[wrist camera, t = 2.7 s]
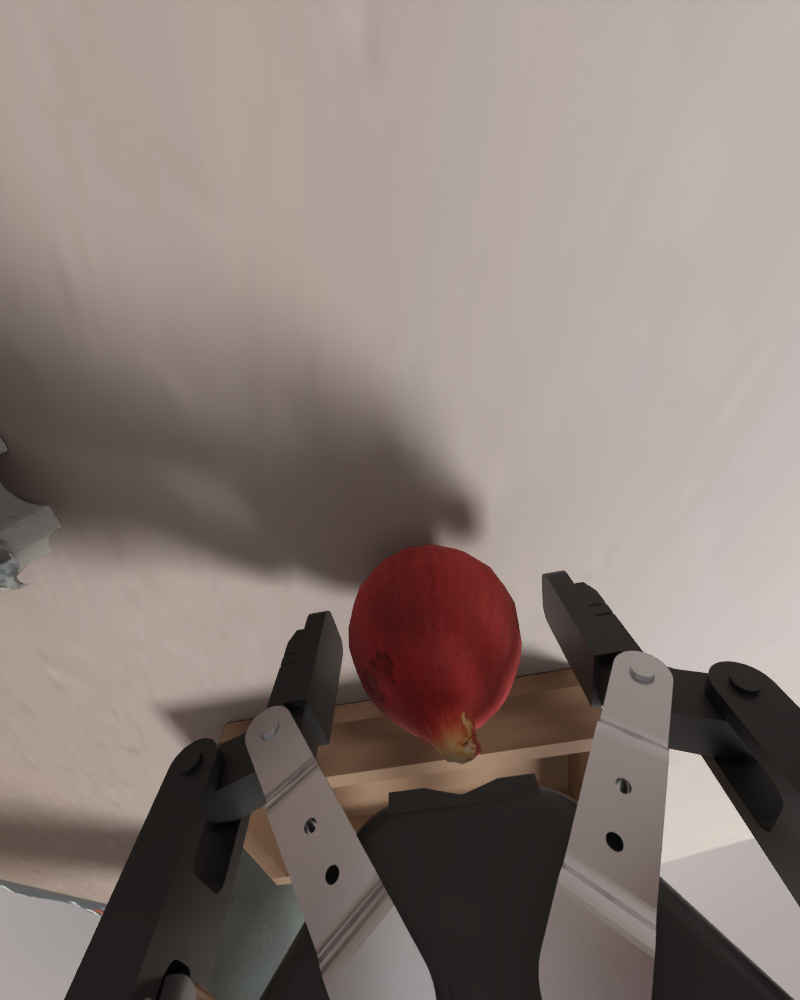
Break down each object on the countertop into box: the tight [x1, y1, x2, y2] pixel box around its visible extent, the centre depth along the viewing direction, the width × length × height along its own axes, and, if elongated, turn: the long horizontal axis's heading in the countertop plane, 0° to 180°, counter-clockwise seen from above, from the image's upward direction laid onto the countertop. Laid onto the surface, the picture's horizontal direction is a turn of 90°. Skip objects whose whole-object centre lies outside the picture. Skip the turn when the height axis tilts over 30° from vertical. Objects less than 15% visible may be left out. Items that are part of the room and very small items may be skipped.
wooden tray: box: [218, 669, 602, 885], centre depth 21 cm, size 20×11×4 cm, turn 102°
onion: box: [349, 544, 522, 765], centre depth 12 cm, size 6×6×8 cm
